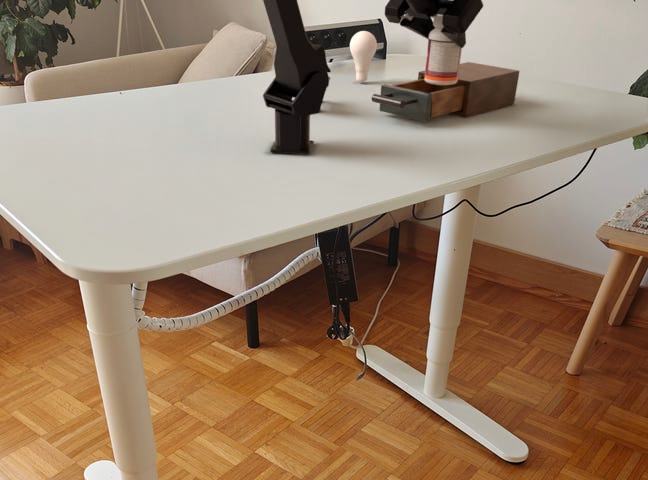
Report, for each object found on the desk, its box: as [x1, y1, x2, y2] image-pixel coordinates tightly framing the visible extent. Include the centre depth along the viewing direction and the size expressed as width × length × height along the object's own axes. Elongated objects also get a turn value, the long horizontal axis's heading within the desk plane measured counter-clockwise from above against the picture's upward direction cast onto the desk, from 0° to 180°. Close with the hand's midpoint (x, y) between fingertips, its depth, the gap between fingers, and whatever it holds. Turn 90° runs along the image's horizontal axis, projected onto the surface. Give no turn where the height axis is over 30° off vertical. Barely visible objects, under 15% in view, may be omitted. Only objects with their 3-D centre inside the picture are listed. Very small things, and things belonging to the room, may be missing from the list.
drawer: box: [371, 78, 467, 123], centre depth 131 cm, size 20×11×5 cm, turn 132°
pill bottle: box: [424, 14, 463, 85], centre depth 124 cm, size 6×6×11 cm
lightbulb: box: [349, 30, 378, 84], centre depth 156 cm, size 6×6×11 cm
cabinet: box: [417, 61, 520, 118], centre depth 139 cm, size 17×13×7 cm
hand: (450, 43), depth 124 cm, fingers closed on pill bottle, 6 cm apart
